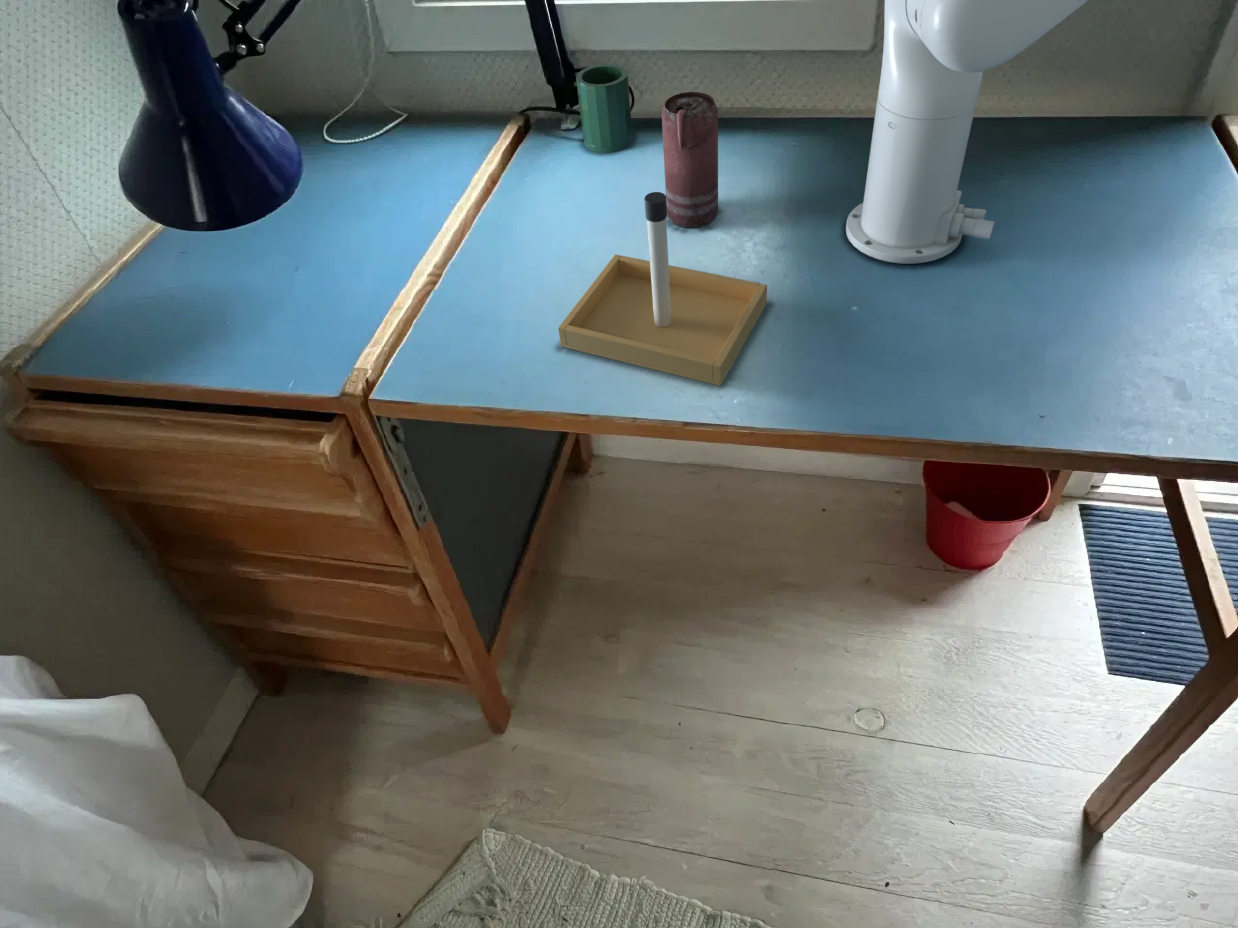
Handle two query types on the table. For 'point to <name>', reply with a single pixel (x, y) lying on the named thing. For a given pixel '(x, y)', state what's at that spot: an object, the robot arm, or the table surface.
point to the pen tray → (700, 320)
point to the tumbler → (605, 107)
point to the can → (691, 159)
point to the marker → (658, 257)
